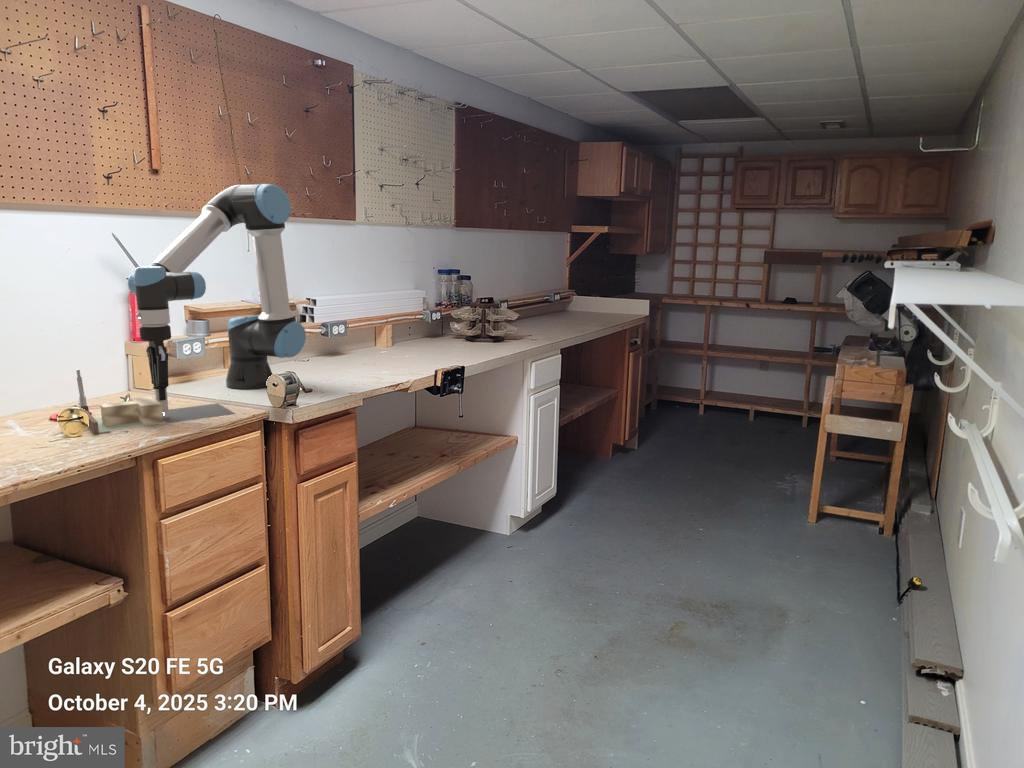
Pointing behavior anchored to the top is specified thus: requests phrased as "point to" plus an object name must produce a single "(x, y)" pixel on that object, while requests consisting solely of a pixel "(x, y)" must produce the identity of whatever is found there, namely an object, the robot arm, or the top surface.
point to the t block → (132, 412)
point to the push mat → (165, 417)
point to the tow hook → (82, 397)
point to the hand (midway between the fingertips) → (162, 411)
